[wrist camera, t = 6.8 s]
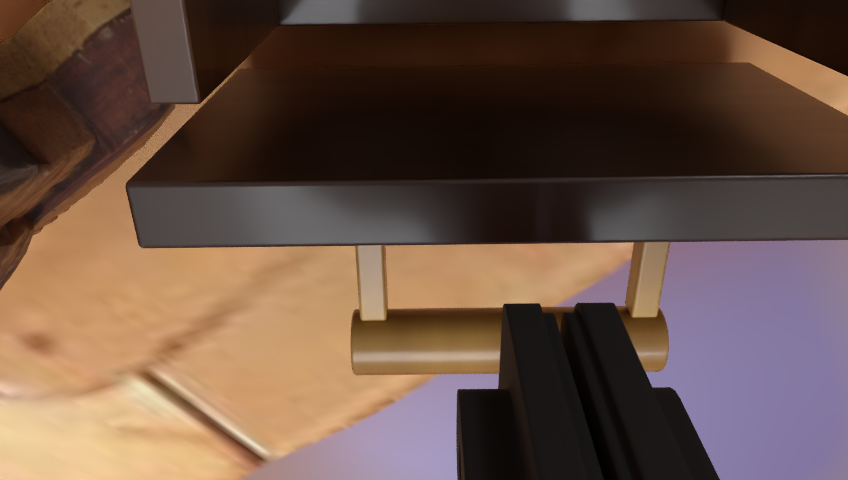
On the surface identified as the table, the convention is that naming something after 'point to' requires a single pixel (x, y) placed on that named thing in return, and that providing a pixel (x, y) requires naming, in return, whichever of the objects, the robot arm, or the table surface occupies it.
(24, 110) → the wooden carving
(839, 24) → the drawer
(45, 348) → the table surface
